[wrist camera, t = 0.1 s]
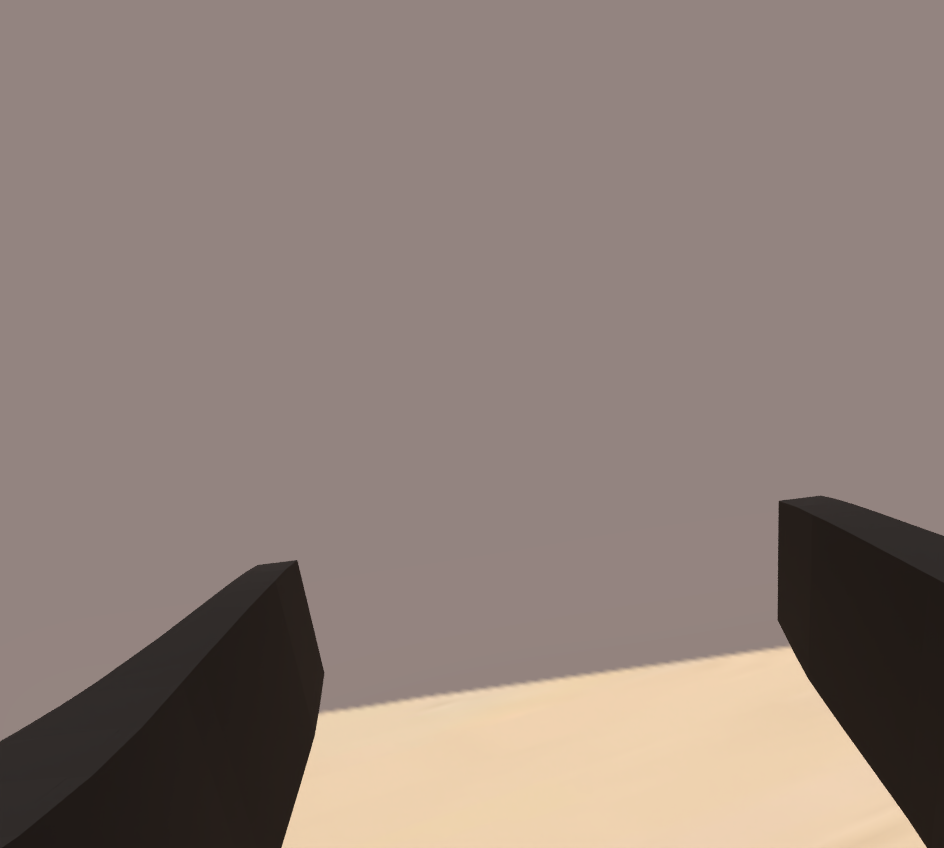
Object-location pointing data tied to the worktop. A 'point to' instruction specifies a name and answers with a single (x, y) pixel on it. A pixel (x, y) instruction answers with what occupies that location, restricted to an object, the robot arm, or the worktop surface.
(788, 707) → the worktop surface
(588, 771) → the worktop surface
